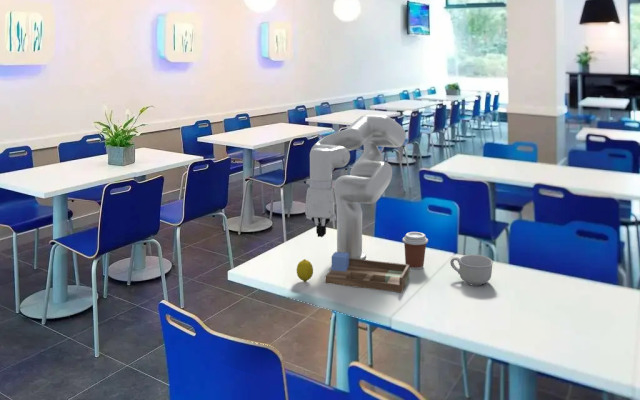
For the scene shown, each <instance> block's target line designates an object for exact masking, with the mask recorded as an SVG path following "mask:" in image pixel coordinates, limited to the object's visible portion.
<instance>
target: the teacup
mask: <svg viewBox="0 0 640 400" xmlns="http://www.w3.org/2000/svg"><path fill="white" fill-rule="evenodd" d="M454 261H457V263H458V265H459V268H458V267H457V265H455V264H454ZM493 263H494V261H493V260H492V259H491V258H489V257H488V256H485V255H481V254H466V255H463V256H461V257H460V258H459V257H458V256H455V257H452V258H451V259H450V262H449V264H450V267H451V268H452V269H453V270H454V271H456V272H457V274H458V275H459V278H461V280H462V281H464V283H466V284H467V283H468V284H467V285H470V284H472V285H471V286H475V285H479V286H483V285H485V284H487V283H488V282H489V281H491V278H492V272H493ZM482 284H483V285H482Z"/></svg>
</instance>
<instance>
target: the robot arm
mask: <svg viewBox="0 0 640 400" xmlns="http://www.w3.org/2000/svg"><path fill="white" fill-rule="evenodd" d="M406 137H407V135H406V131H405V129H404V126H402V125H401V124H400V123H398V122H397V121H396V120H394V119H393V118H392V117H390V116H388V115H380V114H364V115H362V116H360V117H359V118H358V119H356V120H355V121H353V123H351V125H349V126H348V127H347V128H346V129H343V130H339V131H336V132H334V133H331V134H328V135H325V136H323V137H322V138H320V139H318V141H317V142H316V143H314V145H313V146H311V149H310V152H309V179H307V180H306V182H305V183H306V185H309V187H307V189H306V190H307V191H306V197H305V208H304V209H305V210H304V211H305V212H304V213H305V218H306V219H308V220H310V221H312V223H314V225H315V226H316V234H317V238H323V237H325V235H326V232H327V224H329V223H330V222H335V221H336V251H334V252H333V254H334V253H335V252H341V253H349V258H352V259H361V260H366V258H367V254H366V252H365V251H363V210H362V208H361V205H360V204H366V205H367V204H368V205H369V204H370V205H371V204H375V203H376V202H377V201H379V199H380V198H381V196H382V195H383V194H384V192H385V191H386V190H387V188H388V187H389V186H390V183H391V181H392V178H393V168H392V166H391V165H390V163H388V162H386V161H384V158H383V157H384V156H383V154H382V152H381V150H380V149H379V147H383V148H385V147H386V148H400V147H402V146H403V145H404V143H405V141H406V139H407V138H406ZM361 147H363V152H362V154H361V155H360V156H359V157H358V159H357V160H356V162H355V163H354V164H353V165H352V167H351V169H350V172H349V173H350V174H349V175H347V174H346V175H341V176H339V177H338V178H336V180H335V182H334V184H333V169H336V168H338V169H339V168H344V167H346V165H348V164H349V162H350V160H351V153H350V152H351V151H355V150H358V149H360V148H361ZM333 254H332V255H333Z"/></svg>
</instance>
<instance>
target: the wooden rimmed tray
mask: <svg viewBox="0 0 640 400" xmlns="http://www.w3.org/2000/svg"><path fill="white" fill-rule="evenodd" d="M410 270H411V269H410V265H408V264H406V263H398V262H387V261H378V260H369V259H363V260H361V259H352V258H349V267H348V269H347V270H346V272H345V271H334V270H332V269H331V270H330V271H329V272H328V273H327V274H326V275H325V276H324V277H325V278H324V279H325V284H329V285H330V284H331V285H339V286H346V287H347V286H348V287H355V288H364V289H372V290H379V291H387V292H396V293H403V291H404V289H405V287H406V285H407V283H408V282H409V280H410V273H411V272H410Z"/></svg>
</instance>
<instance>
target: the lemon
mask: <svg viewBox="0 0 640 400" xmlns="http://www.w3.org/2000/svg"><path fill="white" fill-rule="evenodd" d="M313 267H314V266H313V264H312V263H311V261H309V260H308V259H302V260H300V261H299V262H298V264H297V266H296V274H297V275H296V276H297V277H298V279H300V280H301V281H303V283H306V282H307V281H309V280H310V279H311V278H312V277H313V274H314V268H313Z"/></svg>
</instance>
